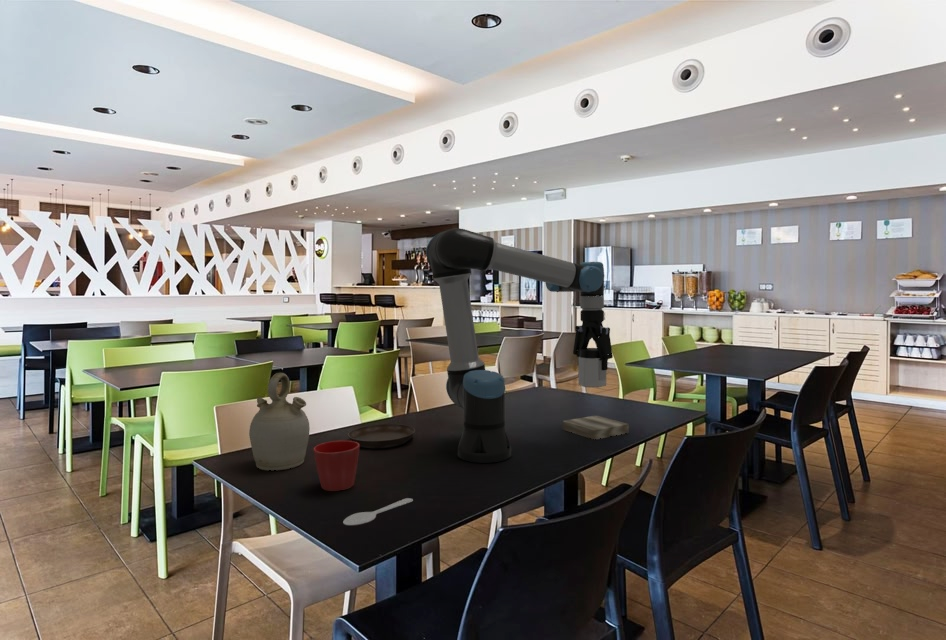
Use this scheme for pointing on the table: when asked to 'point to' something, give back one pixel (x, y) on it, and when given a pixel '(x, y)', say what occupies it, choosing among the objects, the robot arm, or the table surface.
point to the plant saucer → (381, 435)
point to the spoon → (372, 513)
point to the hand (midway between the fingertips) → (592, 378)
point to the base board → (595, 427)
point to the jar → (589, 368)
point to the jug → (279, 429)
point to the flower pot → (337, 464)
